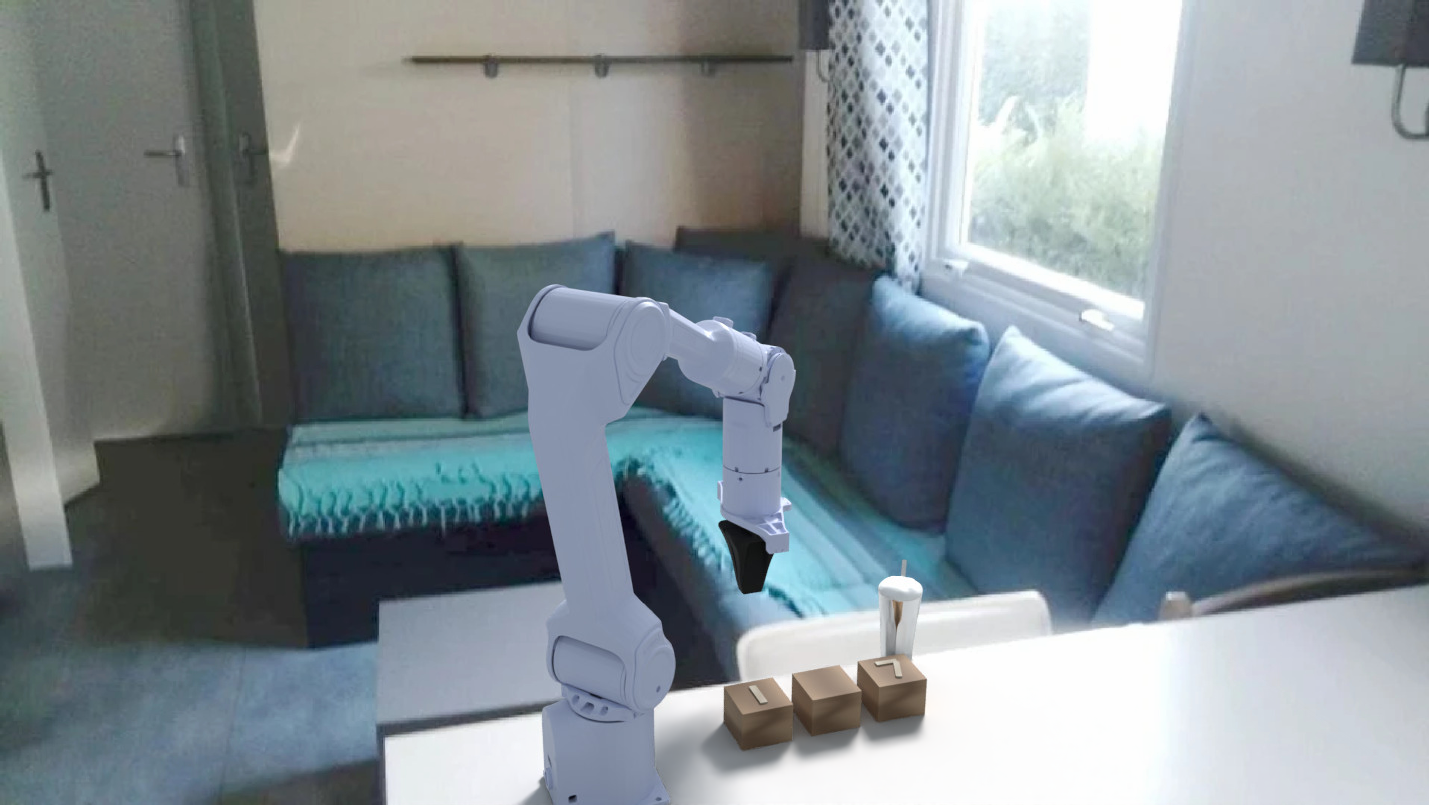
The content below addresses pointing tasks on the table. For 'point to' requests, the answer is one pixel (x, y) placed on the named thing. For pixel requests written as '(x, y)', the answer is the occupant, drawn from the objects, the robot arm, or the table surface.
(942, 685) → the table surface
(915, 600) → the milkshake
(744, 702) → the digit block one
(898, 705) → the digit block seven
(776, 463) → the robot arm
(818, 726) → the blank block
